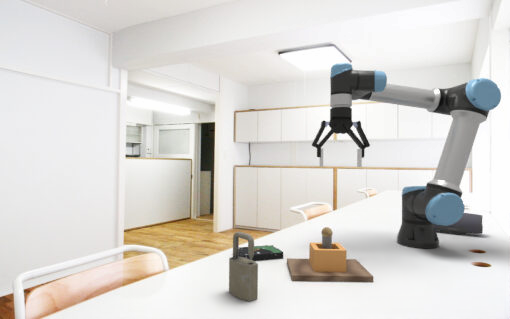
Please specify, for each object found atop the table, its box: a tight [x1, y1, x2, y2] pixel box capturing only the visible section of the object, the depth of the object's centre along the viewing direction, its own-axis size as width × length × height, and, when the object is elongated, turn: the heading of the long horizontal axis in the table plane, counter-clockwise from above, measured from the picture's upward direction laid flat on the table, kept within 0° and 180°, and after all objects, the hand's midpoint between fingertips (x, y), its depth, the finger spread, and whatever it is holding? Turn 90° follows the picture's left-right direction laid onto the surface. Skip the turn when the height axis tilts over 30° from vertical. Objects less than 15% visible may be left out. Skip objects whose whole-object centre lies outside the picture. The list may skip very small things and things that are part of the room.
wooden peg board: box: [286, 226, 374, 283], centre depth 99 cm, size 22×16×13 cm
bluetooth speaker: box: [434, 212, 484, 236], centre depth 157 cm, size 23×9×10 cm, turn 58°
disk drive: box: [238, 244, 284, 262], centre depth 115 cm, size 10×3×15 cm
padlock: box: [228, 231, 259, 302], centre depth 81 cm, size 4×8×15 cm, turn 40°
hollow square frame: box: [308, 242, 348, 272], centre depth 99 cm, size 9×9×6 cm
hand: (340, 167), depth 120 cm, fingers open, 13 cm apart
